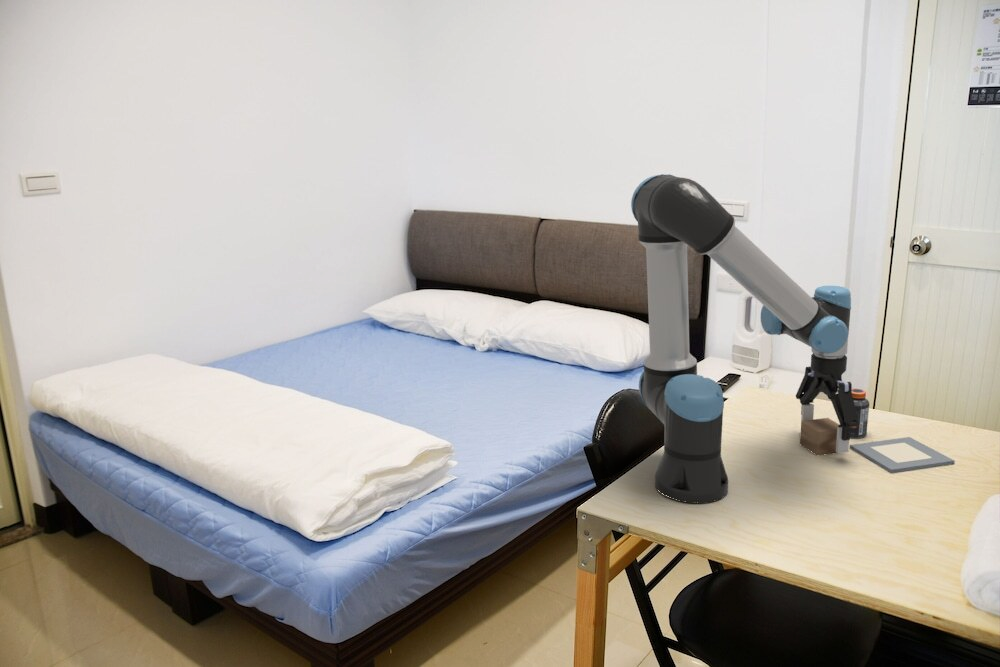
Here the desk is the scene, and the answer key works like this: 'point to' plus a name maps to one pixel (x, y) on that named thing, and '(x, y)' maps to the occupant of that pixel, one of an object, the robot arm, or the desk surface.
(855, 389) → the pill bottle
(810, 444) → the walnut block
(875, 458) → the board
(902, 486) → the desk surface
